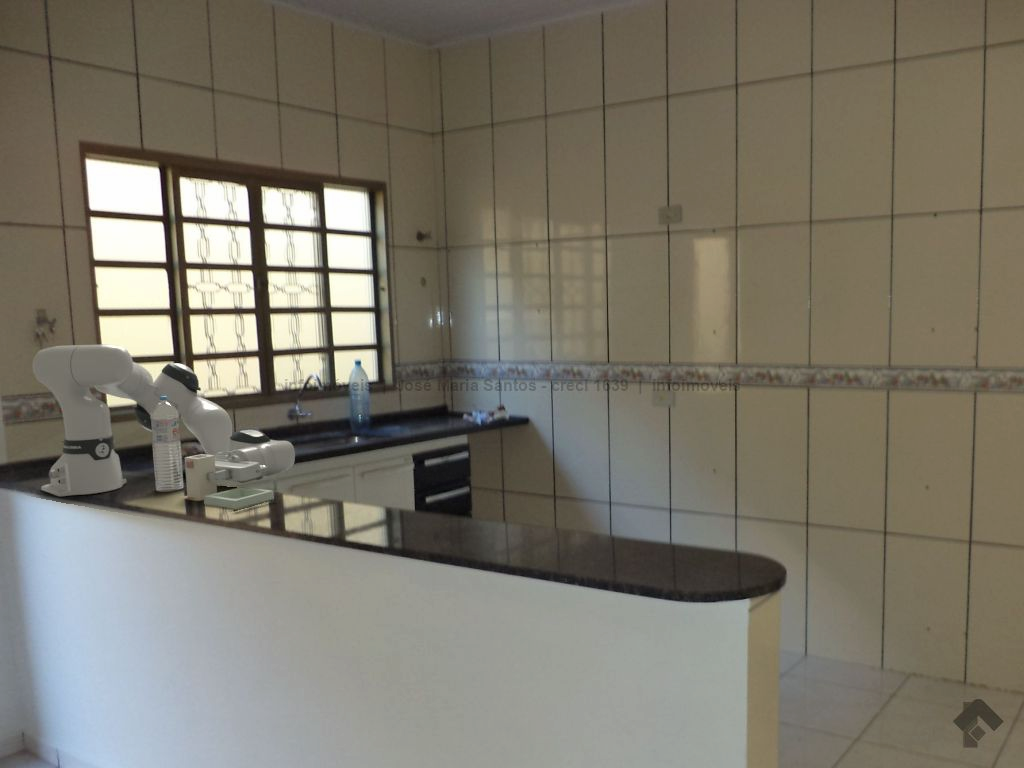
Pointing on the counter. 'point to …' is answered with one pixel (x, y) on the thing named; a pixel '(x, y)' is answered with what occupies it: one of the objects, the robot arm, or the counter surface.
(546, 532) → the counter surface
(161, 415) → the water bottle
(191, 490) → the sleeve
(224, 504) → the tray
